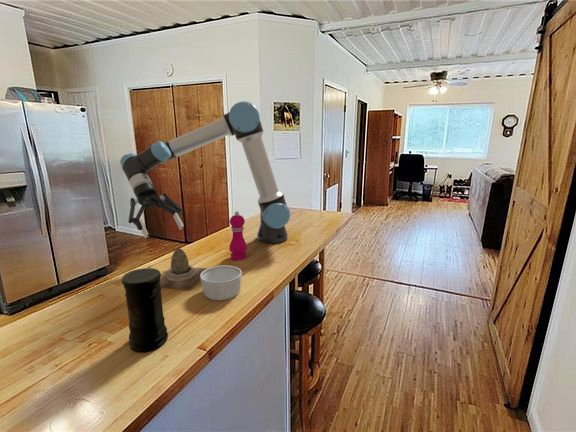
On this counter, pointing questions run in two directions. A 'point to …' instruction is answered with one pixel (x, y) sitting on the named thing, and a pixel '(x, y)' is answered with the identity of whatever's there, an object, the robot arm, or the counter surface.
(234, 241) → the pepper mill
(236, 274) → the ramekin
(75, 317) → the counter surface
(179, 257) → the decorative egg
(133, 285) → the container
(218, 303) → the counter surface
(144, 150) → the robot arm
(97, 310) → the counter surface
